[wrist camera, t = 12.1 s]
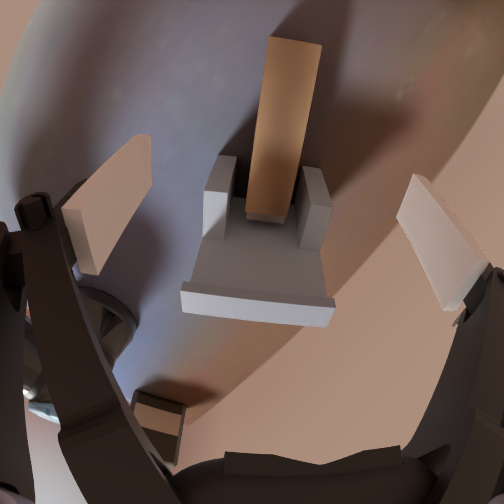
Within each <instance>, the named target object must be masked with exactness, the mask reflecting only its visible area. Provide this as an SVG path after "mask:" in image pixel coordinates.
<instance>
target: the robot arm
mask: <svg viewBox="0 0 504 504" xmlns="http://www.w3.org/2000/svg"><path fill="white" fill-rule="evenodd" d="M151 187H152V167H151V140H150V135H135V136H134V137H133V138H131V139H130V140H129V141H128V142H127V143H126V144H125V145H123V146H122V147H121V148H120V149H119V150H118V151H117V152H116V153H115V154H114V155H113V156H111V157H110V158H109V159H108V160H107V161H106V162H105V163H104V164H103V165H102V166H101V167H100V168H99V169H98V170H97V171H96V172H95V173H94V174H93V175H92V176H91V177H90V178H89V179H84V180H82V181H81V182H79V183H77V184H76V185H75V186H74V187H73V188H72V189H71V190H70V191H69V192H68V193H67V194H66V195H65V196H64V198H62V199H61V200H60V202H59V203H58V204H57V205H56V206H55V207H54V208H52V204H51V200H50V196H49V195H48V193H45V192H37V193H33V194H30V195H28V196H26V197H24V198H23V199H21V200H20V201H19V202H18V203H17V204H16V206H15V209H14V211H15V214H16V217H17V220H18V222H19V225H20V228H21V231H15V232H9V231H8V228H7V226H6V224H5V222H1V221H0V504H35V490H34V479H33V473H32V466H31V461H30V454H29V447H28V440H27V432H26V423H25V410H24V397H25V398H27V399H28V400H29V402H28V409H29V410H30V411H31V412H33V413H35V414H36V415H38V416H40V417H42V418H45V419H47V420H49V421H52V422H55V423H57V424H60V425H61V430H60V432H59V433H58V441H59V445H60V448H61V451H62V453H63V456H64V457H65V460H66V462H67V464H68V466H69V469H70V471H71V473H72V475H73V477H74V479H75V481H76V483H77V485H78V487H79V489H80V491H81V492H82V494H83V496H84V498H85V500H86V501H87V503H88V504H504V270H503V269H501V268H498V267H496V268H493V266H492V265H491V263H490V261H489V259H488V258H487V256H486V255H485V253H484V252H483V250H482V249H481V247H480V246H479V245H478V243H477V242H476V240H475V239H474V237H473V236H472V234H471V233H470V232H469V230H468V229H467V228H466V226H465V225H464V224H463V222H462V221H461V220H460V218H459V217H458V216H457V215H456V213H455V212H454V211H453V210H452V208H451V207H450V206H449V204H448V203H447V202H446V201H445V200H444V198H443V197H442V196H441V195H440V194H439V192H438V191H437V190H436V189H435V188H434V187H433V185H432V184H431V183H430V182H429V181H428V180H427V179H426V178H425V177H424V176H420V175H417V174H413V176H412V178H411V181H410V184H409V186H408V189H407V191H406V194H405V197H404V199H403V202H402V204H401V206H400V209H399V211H398V214H397V216H396V218H397V220H398V221H399V223H400V225H401V227H402V229H403V230H404V232H405V234H406V236H407V238H408V239H409V241H410V243H411V245H412V247H413V249H414V251H415V253H416V255H417V257H418V259H419V261H420V262H421V265H422V267H423V268H424V271H425V273H426V275H427V277H428V279H429V281H430V283H431V286H432V288H433V290H434V292H435V294H436V296H437V299H438V301H439V304H440V306H441V308H442V310H443V311H456V309H457V308H458V307H459V305H460V304H461V303H462V301H464V303H465V305H466V308H465V309H464V310H463V312H462V313H461V314H460V315H459V317H458V318H457V319H456V320H455V322H454V323H453V324H452V326H453V327H454V326H455V325H456V324H458V327H457V330H456V334H455V337H454V340H453V343H452V346H451V349H450V352H449V355H448V358H447V360H446V364H445V366H444V369H443V371H442V374H441V376H440V379H439V381H438V384H437V386H436V389H435V391H434V393H433V396H432V398H431V400H430V403H429V405H428V407H427V409H426V411H425V414H424V416H423V418H422V420H421V422H420V424H419V426H418V428H417V430H416V432H415V434H414V436H413V437H412V439H411V441H410V442H409V443H408V445H407V446H406V447H405V448H404V449H403V450H401V449H400V445H398V446H392V447H387V448H379V449H373V450H364V451H362V452H359V453H356V454H353V455H350V456H348V457H345V458H342V459H339V460H336V461H333V462H330V463H327V464H323V465H317V464H312V463H307V462H302V461H298V460H293V459H289V458H285V457H281V456H277V455H273V454H251V453H250V454H249V453H237V452H225V454H224V458H220V459H213V460H209V461H205V462H201V463H198V464H195V465H192V466H190V467H188V468H186V469H184V470H181V471H180V472H178V473H177V474H175V475H173V474H172V472H171V471H170V469H169V468H168V467H167V465H166V464H165V462H164V461H163V459H162V458H161V456H160V455H159V453H158V452H157V450H156V449H155V448H154V446H153V445H152V443H151V442H150V440H149V439H148V437H147V436H146V434H145V432H144V431H143V429H142V427H141V426H140V424H139V422H138V421H137V419H136V417H135V415H134V413H133V412H132V410H131V408H130V406H129V404H128V402H127V401H126V399H125V397H124V395H123V393H122V391H121V389H120V387H119V385H118V383H117V381H116V379H115V377H114V375H113V373H112V370H113V367H114V364H115V361H116V359H117V358H118V357H119V356H120V354H121V353H122V352H123V351H124V349H125V348H126V347H127V346H128V344H129V343H130V342H131V341H132V339H133V337H134V334H135V331H136V321H135V319H134V317H133V315H132V314H131V312H130V311H129V310H128V309H127V308H126V307H125V306H124V305H123V304H122V303H120V302H119V301H118V300H116V299H115V298H113V297H112V296H110V295H108V294H106V293H104V292H102V291H99V290H96V289H93V288H89V287H78V286H77V282H76V279H75V276H74V273H73V271H72V267H73V266H74V264H75V262H76V261H77V263H78V266H79V269H80V272H81V273H85V274H91V275H97V276H98V275H99V273H100V271H101V270H102V268H103V266H104V264H105V262H106V260H107V259H108V257H109V255H110V253H111V252H112V250H113V248H114V246H115V245H116V243H117V241H118V239H119V238H120V236H121V234H122V233H123V231H124V229H125V228H126V226H127V224H128V223H129V221H130V219H131V218H132V216H133V215H134V213H135V211H136V210H137V208H138V207H139V205H140V203H141V202H142V200H143V199H144V197H145V196H146V194H147V193H148V191H149V190H150V188H151ZM27 299H28V306H29V312H30V317H31V319H30V318H29V317H28V316H27V315H26V307H27Z"/></svg>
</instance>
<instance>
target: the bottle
mask: <svg viewBox="0 0 504 504" xmlns="http://www.w3.org/2000/svg"><path fill="white" fill-rule="evenodd" d="M130 408H131V410H132V412H133V413H134V415H135V417H136V419H137V421H138V422H139V424H140V426H141V427H142V429H143V431H144V432H145V434H146V436H147V437H148V439H149V440H150V442H151V443H152V445H153V446H154V448H155V449H156V450H157V452H158V453H159V455H160V456H161V458H162V459H163V461H164V462H165V464H166V465H167V467H169V468H173V467H175V466H176V465H177V461H178V455H179V448H180V442H181V435H182V429H183V423H184V417H185V411H186V408H185V405H184V404H180V403H177V402H173V401H169V400H166V399H163V398H159V397H156V396H153V395H150V394H146V393H143V392H140V391H137V390H136V391H135V392H134V393H133V397H132V401H131V405H130Z"/></svg>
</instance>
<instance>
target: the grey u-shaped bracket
mask: <svg viewBox="0 0 504 504" xmlns="http://www.w3.org/2000/svg"><path fill="white" fill-rule="evenodd" d="M236 161H237V157H236V156H226V155H218V156H217V159H216V161H215V164H214V166H213V169H212V171H211V174H210V176H209V179H208V181H207V184H206V186H205V189H204V203H203V238H202V242H201V245H200V249H199V252H198V256H197V260H196V263H195V267H194V270H193V274H192V278H191V281H190V282H185V281H183V284H182V287H181V302H182V312H187V313H194V314H201V315H209V316H216V317H224V318H232V319H241V320H250V321H259V322H269V323H279V324H290V325H302V326H316V327H327V325H328V323H329V321H330V319H331V317H332V315H333V313H334V311H335V309H336V306H335V300H334V298H327V295H326V288H325V282H324V276H323V270H322V264H321V259H320V253H319V252H320V249H321V246H322V242H323V239H324V236H325V233H326V230H327V227H328V224H329V221H330V217H331V214H332V211H333V205H332V201H331V198H330V195H329V192H328V189H327V186H326V183H325V180H324V177H323V174H322V172H321V169H319V168H314V167H308V166H302V170H301V175H300V179H299V184H298V188H297V193H296V197H295V202H294V205H292V204H290V206H289V211H288V215H287V217H285V219H284V223H283V224H280V223H273V222H266V221H258V220H250V219H246V214H247V212H245V205H246V198H239V197H233V191H234V181H235V171H236Z"/></svg>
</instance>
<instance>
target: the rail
mask: <svg viewBox="0 0 504 504" xmlns="http://www.w3.org/2000/svg"><path fill="white" fill-rule="evenodd" d="M321 49H322V45H318V44H313V43H308V42H303V41H297V40H291V39H285V38H279V37H272V36H269V39H268V45H267V52H266V59H265V66H264V73H263V80H262V87H261V94H260V101H259V108H258V116H257V123H256V130H255V137H254V145H253V152H252V160H251V167H250V175H249V182H248V190H247V198H246V205H245V212H247V214H246V219H250V220H258V221H266V222H273V223H280V224H283V223H284V219H285V217H287V215H288V211H289V206H290V202H291V197H292V193H293V188H294V183H295V179H296V174H297V170H298V165H299V160H300V156H301V151H302V146H303V141H304V136H305V132H306V127H307V122H308V117H309V112H310V107H311V102H312V97H313V92H314V86H315V81H316V76H317V71H318V65H319V60H320V55H321Z"/></svg>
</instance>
